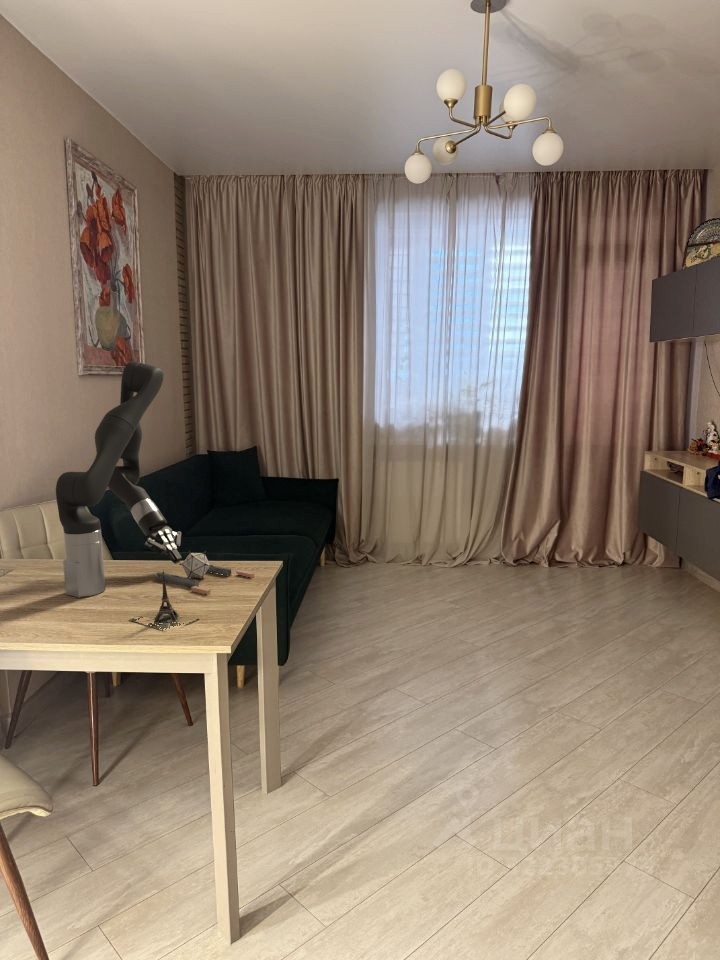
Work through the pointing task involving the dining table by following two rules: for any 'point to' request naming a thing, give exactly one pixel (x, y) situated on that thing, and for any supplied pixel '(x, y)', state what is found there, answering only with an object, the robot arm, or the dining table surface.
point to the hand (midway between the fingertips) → (178, 561)
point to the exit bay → (207, 591)
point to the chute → (191, 582)
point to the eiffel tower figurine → (164, 612)
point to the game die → (196, 565)
